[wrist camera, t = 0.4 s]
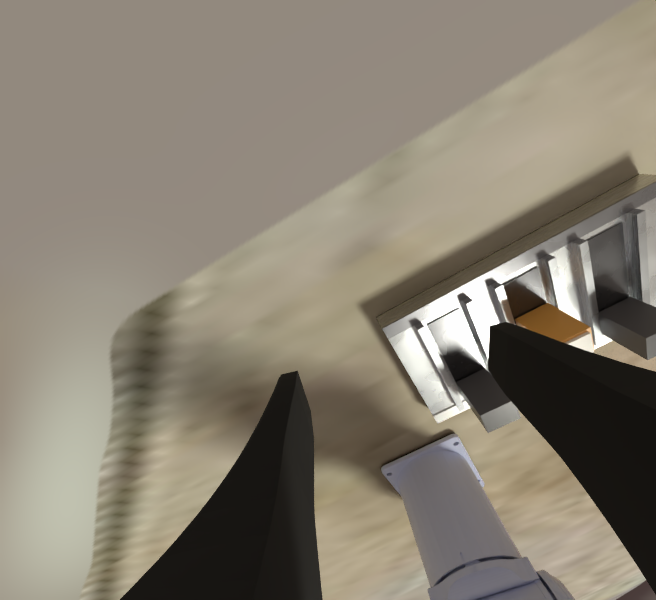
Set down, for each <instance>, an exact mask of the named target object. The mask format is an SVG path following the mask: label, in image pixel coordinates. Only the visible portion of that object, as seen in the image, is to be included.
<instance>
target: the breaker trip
mask: <svg viewBox="0 0 656 600" xmlns="http://www.w3.org/2000/svg"><path fill="white" fill-rule="evenodd" d="M515 322H516V325H517V326H520V327H523V328H526V329H529V330H531V331H534V332H537V333H539V334H542V335H545V336H547V337H550V338H553V339H555V340H558V341H561V342H563V343H566V344H569V345H572V346H574V347H577V348H580V349H583V350H586V351H589V352H592V353H593V352H594V351H595V349H594V343H593V337H592V331H591V327H589V326H588V325H586V324H584V323H582V322H581V321H579V320H577V319H576V318H574V317H572V316H570V315H569V314H567V313H565V312H563V311H562V310H560V309H558V308H556V307H555V306H553V305H551V304H549V303H546V304H544V305H542V306H540V307H538V308H536V309H534V310H532V311H530V312H528V313H526V314H524V315H522V316H520V317H518V318H516V319H515Z"/></svg>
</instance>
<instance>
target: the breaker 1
mask: <svg viewBox="0 0 656 600" xmlns="http://www.w3.org/2000/svg"><path fill="white" fill-rule="evenodd" d="M456 383H457V386H458V388H459V390H460V392H461V394H462V396H463V398H464V399H465V401H466V402H467V404H468V405H469V406H470V408H471V409H472V411H473V412H474V414H475V415H476V416H477V418H478V419H479V421H480V422H481V423H482V425H483V426H484V428H485V429H486V431H487V432H488V433H489V432H491V431H493V430H496V429H498V428H500V427H502V426H504V425H507V424H509V423H511V422H513V421H515V420H517V419H520V418H521V417H520V414H519V412H518V409H517V407H516V406H515V405H514V404H513V403H512V402H511V400H510V399H509V398H508V397H507V396H506V395H505V393H504V392H503V391H502V389H501V388H500V387H499V385H498V384H497V382H496V381H495V379H494V378H493V376H492V375H491V374H490V373H489V372H488V371H487V369H486V368H484V369H482V370H480V371H478V372H476V373H474V374H472V375H470V376H468V377H466V378H464V379H462V380H460V381H457V382H456Z"/></svg>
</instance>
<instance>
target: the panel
mask: <svg viewBox="0 0 656 600" xmlns="http://www.w3.org/2000/svg"><path fill="white" fill-rule="evenodd" d="M629 297H633V298H635V299H638V300H640V301H642V302H645V303H647V304H650V305H652V306H654V307H656V175H647V174H639V175H637V176H635V177H634V178H632V179H630V180H628V181H626V182H624V183H623V184H621V185H619V186H617V187H615V188H613V189H611V190H610V191H608V192H606V193H604V194H602V195H600V196H599V197H597V198H595V199H593V200H591V201H589V202H588V203H586V204H584V205H582V206H580V207H578V208H577V209H575V210H573V211H571V212H569V213H567V214H566V215H564V216H562V217H560V218H558V219H556V220H555V221H553V222H551V223H549V224H547V225H545V226H543V227H542V228H540V229H538V230H536V231H534V232H532V233H531V234H529V235H527V236H525V237H523V238H521V239H520V240H518V241H516V242H514V243H512V244H510V245H509V246H507V247H505V248H503V249H501V250H499V251H498V252H496V253H494V254H492V255H490V256H488V257H487V258H485V259H483V260H481V261H479V262H477V263H476V264H474V265H472V266H470V267H468V268H466V269H464V270H463V271H461V272H459V273H457V274H455V275H453V276H452V277H450V278H448V279H446V280H444V281H442V282H441V283H439V284H437V285H435V286H433V287H431V288H430V289H428V290H426V291H424V292H422V293H420V294H419V295H417V296H415V297H413V298H411V299H409V300H408V301H406V302H404V303H402V304H400V305H398V306H396V307H395V308H393V309H391V310H389V311H387V312H385V313H384V314H382V315H380V316H378V317H376V318H377V320H378V322H379V324H380V326H381V328H382V329H383V331H384V333H385V335H386V336H387V338H388V340H389V341H390V343H391V345H392V346H393V348H394V350H395V352H396V353H397V355H398V357H399V358H400V360H401V362H402V363H403V365H404V367H405V369H406V370H407V372H408V374H409V375H410V377H411V379H412V381H413V382H414V384H415V386H416V387H417V389H418V391H419V393H420V394H421V396H422V398H423V399H424V401H425V403H426V404H427V406H428V408H429V410H430V411H431V413H432V415H433V416H434V418H435V420H436V422H437V423H440V422H442V421H444V420H446V419H448V418H450V417H452V416H455V415H457V414H459V413H461V412H463V411H465V410H467V409H469V408H470V406H469V405H468V404H467V402H466V401H465V399H464V398H463V396H462V394H461V392H460V390H459V388H458V386H457V383H456V382H457V381H460V380H462V379H464V378H466V377H468V376H470V375H472V374H474V373H476V372H478V371H480V370H482V369H484V368H486V369H487V371H488V372H489V370H488V352H489V326H490V325H494V324H499V323H503V322H508V323H511V324H514V325H516V322H515V319H516V318H518V317H520V316H522V315H524V314H526V313H528V312H530V311H532V310H534V309H536V308H538V307H540V306H542V305H544V304H546V303H549V304H551V305H553V306H555V307H556V308H558V309H560V310H562V311H563V312H565V313H567V314H569V315H570V316H572V317H574V318H576V319H577V320H579V321H581V322H582V323H584V324H586V325H588V326H589V327H591V331H592V337H593V343H594V349H596V348H598V347H600V346H602V345H604V344H607V343H609V342H611V341H613V340H612V339H610V338H608V337H606V336H605V335H603V334H602V332H601V325H600V319H599V312H600V311H602V310H604V309H606V308H608V307H611V306H613V305H615V304H617V303H619V302H621V301H623V300H625V299H627V298H629ZM489 373H490V372H489ZM490 374H491V373H490Z"/></svg>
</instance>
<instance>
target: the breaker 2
mask: <svg viewBox="0 0 656 600" xmlns="http://www.w3.org/2000/svg"><path fill="white" fill-rule="evenodd" d="M599 319H600V325H601V332H602V334H603V335H605V336H606V337H608V338H610V339H612V340H613V341H615V342H617V343H619V344H620V345H622V346H624V347H626V348H627V349H629V350H631V351H633V352H634V353H636V354H638V355H640V356H641V357H643V358H645V359H646V360H649V359H651V358H653V357H655V356H656V307H654V306H652V305H650V304H647V303H645V302H642V301H640V300H638V299H635V298H633V297H629V298H627V299H625V300H623V301H621V302H619V303H617V304H615V305H613V306H611V307H608V308H606V309H604V310H602V311H600V312H599Z"/></svg>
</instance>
